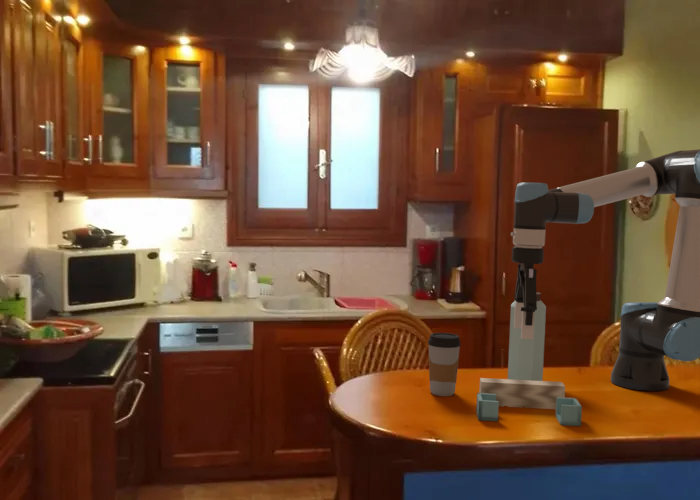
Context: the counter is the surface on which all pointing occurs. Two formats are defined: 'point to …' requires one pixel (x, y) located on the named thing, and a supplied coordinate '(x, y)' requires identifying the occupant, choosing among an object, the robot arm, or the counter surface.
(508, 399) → the slat
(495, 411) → the end caps
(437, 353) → the coffee cup
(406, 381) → the counter surface
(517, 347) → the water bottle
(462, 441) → the counter surface
